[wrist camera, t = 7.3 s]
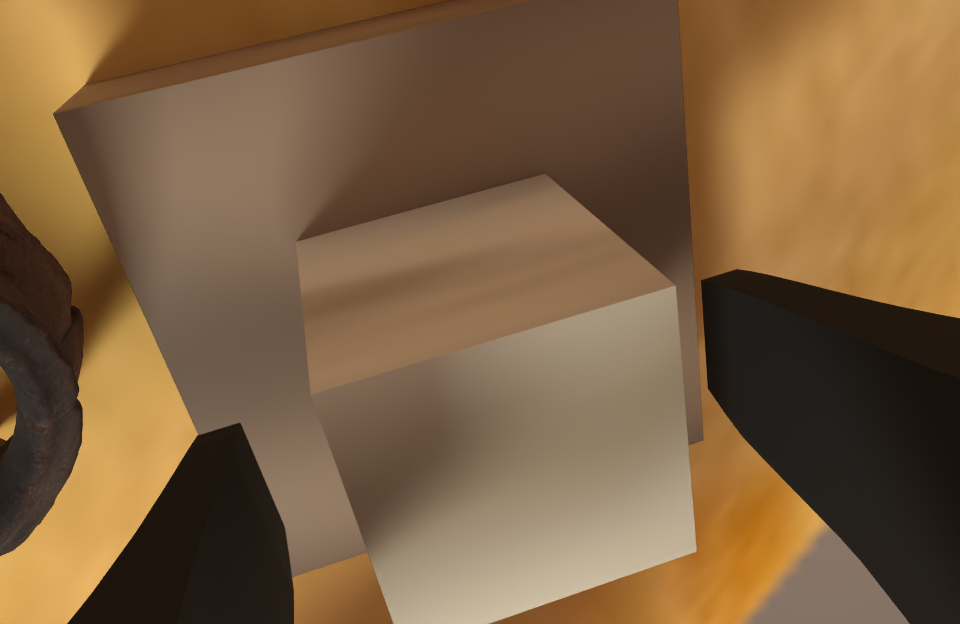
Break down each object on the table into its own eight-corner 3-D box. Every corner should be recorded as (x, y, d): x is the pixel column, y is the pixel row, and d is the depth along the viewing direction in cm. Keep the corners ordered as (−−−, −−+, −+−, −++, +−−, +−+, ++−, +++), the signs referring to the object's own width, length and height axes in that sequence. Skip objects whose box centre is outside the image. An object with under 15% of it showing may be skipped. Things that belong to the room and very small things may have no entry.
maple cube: (577, 381, 16) (697, 552, 11) (364, 447, 15) (404, 653, 11) (544, 173, 14) (675, 285, 9) (295, 241, 13) (310, 394, 9)
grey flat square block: (645, 374, 20) (703, 440, 18) (265, 494, 19) (266, 585, 16) (604, -40, 15) (675, -34, 13) (90, 80, 14) (53, 113, 11)
